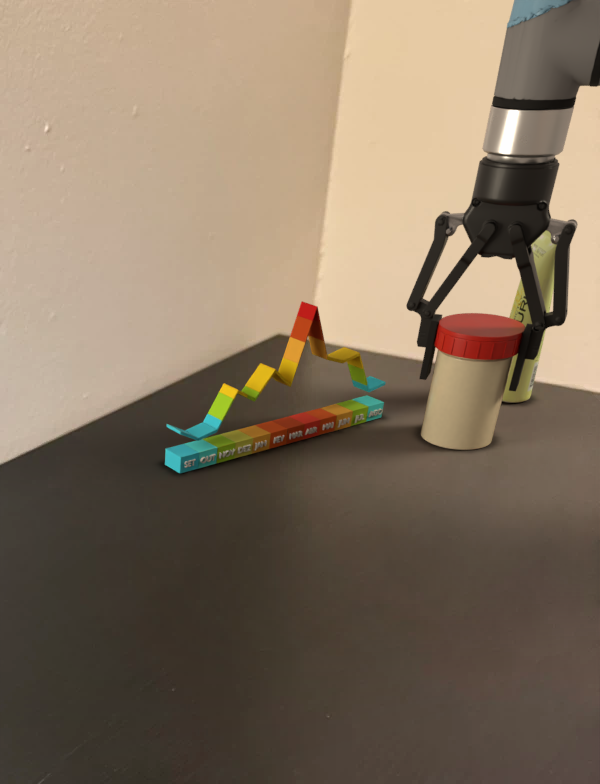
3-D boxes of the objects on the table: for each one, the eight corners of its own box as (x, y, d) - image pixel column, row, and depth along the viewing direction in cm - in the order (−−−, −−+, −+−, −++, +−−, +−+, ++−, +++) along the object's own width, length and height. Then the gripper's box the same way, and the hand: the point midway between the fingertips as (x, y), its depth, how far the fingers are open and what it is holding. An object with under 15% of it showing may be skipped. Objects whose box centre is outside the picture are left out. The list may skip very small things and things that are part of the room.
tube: (476, 395, 126) (515, 229, 114) (499, 386, 129) (540, 222, 117) (515, 407, 123) (560, 236, 111) (538, 397, 125) (585, 230, 113)
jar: (506, 444, 114) (534, 338, 106) (446, 454, 112) (470, 346, 105) (464, 420, 120) (488, 318, 112) (407, 429, 118) (427, 325, 111)
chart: (181, 474, 109) (188, 335, 100) (164, 464, 112) (170, 328, 102) (382, 418, 121) (406, 289, 112) (364, 410, 123) (385, 283, 114)
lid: (442, 330, 114) (446, 309, 113) (525, 340, 111) (531, 318, 109) (426, 353, 108) (430, 331, 107) (513, 364, 105) (519, 341, 103)
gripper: (642, 155, 97) (574, 383, 110) (416, 145, 105) (379, 359, 118) (639, 167, 91) (568, 405, 105) (402, 156, 99) (365, 379, 113)
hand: (468, 381), depth 112 cm, fingers closed on lid, 9 cm apart
